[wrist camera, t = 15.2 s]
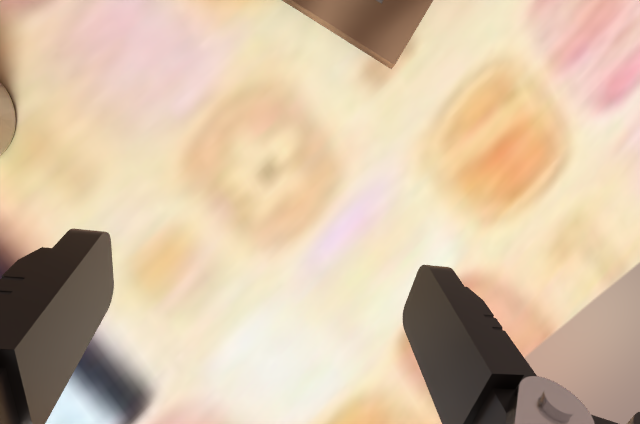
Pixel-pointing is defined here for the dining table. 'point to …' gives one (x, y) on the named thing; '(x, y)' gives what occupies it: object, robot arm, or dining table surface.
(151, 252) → the dining table surface
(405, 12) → the bulb socket
